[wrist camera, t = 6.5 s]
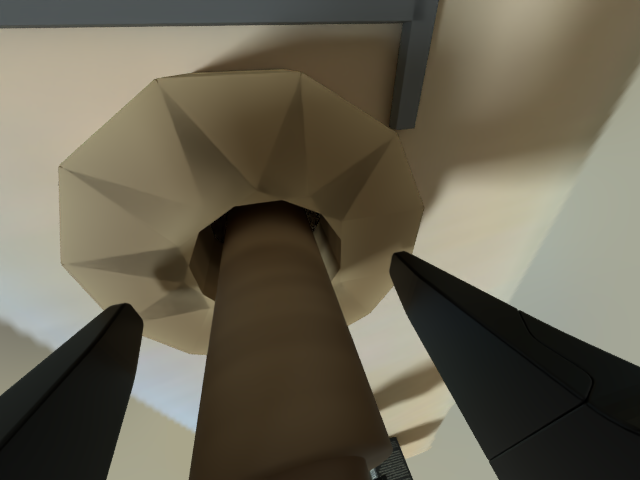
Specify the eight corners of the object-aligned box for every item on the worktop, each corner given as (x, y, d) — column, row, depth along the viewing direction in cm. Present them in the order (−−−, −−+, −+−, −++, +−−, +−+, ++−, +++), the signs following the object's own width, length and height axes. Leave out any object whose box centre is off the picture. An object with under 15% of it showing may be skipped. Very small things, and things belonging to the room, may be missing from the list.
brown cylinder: (306, 239, 12) (408, 560, 4) (238, 250, 12) (213, 643, 4) (300, 176, 10) (476, 565, 2) (218, 186, 10) (75, 748, 2)
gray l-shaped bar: (406, 125, 10) (414, 128, 10) (-3, 162, 8) (-20, 168, 7) (430, -11, 8) (441, -16, 7) (-156, -19, 5) (-195, -27, 5)
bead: (367, 277, 15) (393, 324, 12) (184, 314, 13) (167, 378, 11) (394, 64, 9) (462, 64, 6) (40, 79, 7) (-102, 90, 4)
